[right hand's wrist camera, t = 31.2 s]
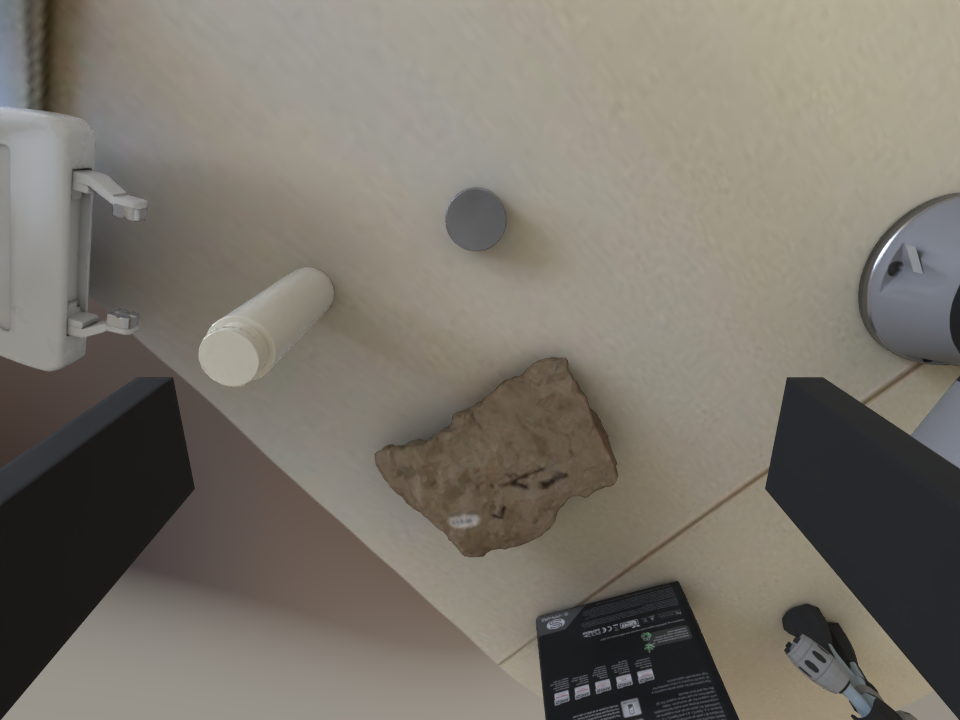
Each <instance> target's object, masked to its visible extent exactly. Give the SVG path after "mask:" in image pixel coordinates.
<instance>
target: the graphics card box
mask: <svg viewBox="0 0 960 720" xmlns="http://www.w3.org/2000/svg"><path fill="white" fill-rule="evenodd" d="M536 629H537V639H538V649H539V659H540V669H541V679H542V689H543V699H544V708H545V718H546V720H739V718H738V716H737V713H736V711H735V709H734V707H733V704H732V702H731V700H730V698H729V695H728V693H727V691H726V689H725V686H724V684H723V681H722V679H721V677H720V675H719V672H718V670H717V668H716V666H715V663H714V661H713V658H712V656H711V653H710V651H709V649H708V646H707V644H706V642H705V639H704V637H703V634H702V632H701V630H700V628H699V625H698V623H697V620H696V618H695V616H694V614H693V612H692V610H691V607H690V605H689V603H688V601H687V598H686V596H685V594H684V592H683V589H682V587H681V585H680V584H679V582H678V581H675V582H671V583H668V584H664V585H660V586H657V587H652V588H648V589H645V590H641V591H637V592H633V593H629V594H626V595H621V596H618V597H614V598H610V599H606V600H602V601H598V602H594V603H590V604H587V605H582V606H579V607H575V608H571V609H567V610H564V611H559V612H556V613H552V614H548V615H543V616H540V617H538V618H537V619H536Z"/></svg>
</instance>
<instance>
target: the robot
mask: <svg viewBox="0 0 960 720" xmlns="http://www.w3.org/2000/svg"><path fill="white" fill-rule="evenodd" d="M782 621H783V628H784V630H785V631H787V632H788V633H789V634H791V635H793V636H796V637H795V639H794V640H793V641H794V642H793V643H792V644H791V643H790V642H788V643H787V644H786V647H787V648H785V650H784V651H785V652H786V654H787V656H788V657H789V658H790V660H791V661H792V663H793V664H794V665H795V666H796V667H797V668H799V669H800V670H801V671H802V672H803V673H804V674H805V675H806V676H807V677H808V678H810V679H811V680H812V681H814V682H815V683H816V684H818V685H819V686H821V687H823V689H826V690H828V691H830V692H833V693H835V694H837V693H840V694H841V693H842V694H843V695H845V696H846V697H847V698H848V699H849V702H850V703H851V705H852V707H853V708H854V710H855V711H856V712H857V713H859V715H860V716H861V718H857V717H856V716H854V715H851V717H852V718H853V719H854V720H917V719H916V718H915V717H914V716H912V715H911V714H910V713H907V712H904V711H894V710H893V709H892V708H891V707H889V706H888V705H887V704H886V703H884V701H883V700H882V698H881V697H880V695H879V693H878V691H877V690H876V689H875V687H874V686H873V685H872V684H871V683H869V682H868V681H867V679H866V677H865V676H864V674H863V673H862V671H861V669H860V668H859V666H858V663H857V658H856V655H855V652H854V650H853V647H852V645H851V643H850V641H849V640H848V638H847V636H846V634H845V633H844V632H843V630H842V628H841V627H840V625H839V624H838V623H827V621H826V619H825V617H823V615H822V613H821V612H820V610H819V608H818V607H815V606H812V605H809V604H806V605H802V606H799V607H796V608H793V609H791V610H790V611H788V612H787V613H786V614H785V616H784V617H783V619H782Z"/></svg>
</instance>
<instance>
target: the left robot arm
mask: <svg viewBox="0 0 960 720" xmlns="http://www.w3.org/2000/svg"><path fill="white" fill-rule="evenodd" d="M95 146H96V134H95V132H94V131H93V130H92V128H91V127H90V126H89V125H88V124H87V123H86V122H85V121H84V120H83V119H81V118H78V117H74V116H70V115H65V114H60V113H55V112H48V111H41V110H32V109H23V108H13V107H0V356H2V357H5V358H7V359H10V360H13V361H15V362H18V363H21V364H24V365H27V366H30V367H33V368H37V369H40V370H44V371H56V370H59V369H62V368H64V367H66V366H68V365H70V364H72V363H74V362H75V361H77V360H78V359H80V358H82V357H83V356H84V355H85V353H86V338H87V337H88V336H92V335H95V334H99V333H103V332H106V331H110V332H114V333H118V334H122V335H131V334H133V333H134V332H136V331H138V319H139V314H138V313H136V312H131V313H130V312H129V311H128V310H124V309H120V308H119V309H117V310H115V311H114V312H110V313H108V314H107V318H106V320H105V321H100V322H97V321H98V318H99V317H98V315H95V314H92V313H88V295H89V274H90V253H91V231H92V210H93V193H96V192H97V193H98V194H100V195H101V196H102V197H103V198H105V199H106V200H107V201H108V202H109V203H111V204H112V205H113V216H116V217H120V218H124V217H125V218H126V219H127V220H131V221H141V220H146V216H147V207H148V201H147V200H144V199H141V198H137V197H133V196H130V195H127V193H126V192H125V191H124V190H123V189H122V188H121V187H120V186H119V185H118V184H116V183H115V182H114V181H113V180H112V179H111V178H110V177H109V176H108V175H107V174H104V173H100V172H96V171H94V166H95Z"/></svg>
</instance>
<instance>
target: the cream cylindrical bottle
mask: <svg viewBox="0 0 960 720" xmlns="http://www.w3.org/2000/svg"><path fill="white" fill-rule="evenodd" d="M333 299H334V289H333V285H332V283H331V281H330V280H329V278H328V277H327V276H326V275H325V274H324V273H323V272H321V271H319V270H317V269H315V268H311V267H302V268H299V269H296V270H294V271H293V272H291V273H290V274H288V275H287V276H285V277H284V278H282V279H280V280H279V281H277V282H276V283H274V284H273V285H271V286H270V287H268V288H267V289H265V290H264V291H262V292H261V293H259V294H258V295H256V296H254V297H253V298H251V299H250V300H248V301H247V302H245V303H244V304H242V305H241V306H239V307H238V308H236V309H235V310H233V311H232V312H230V313H228V314H227V315H225V316H224V317H222V318H221V319H219V320H218V321H216V322H215V323H214V324H213V325H212V326H211V327H210V329H209V331H208V333H207V335H206V336H205V337H204V338H203V340H202V343H201V345H200V348H199V361H200V364H201V366H202V368H203V370H204V371H205V373H206V374H207V375H208V376H209V377H210V378H211V379H213V380H214V381H215V382H217V383H220V384H222V385H224V386H229V387H242V386H245V385H247V384H246V383H248V382H249V381H253V380H257V379H259V378H261V377H263V376H264V375H266V374H267V373H268V372H269V371H270V370H271V369H272V368H273V367H274V366H275V364H276V363H277V362H278V361H279V360H280V359H281V358H282V357H283V356H284V355H285V354H286V353H287V352H288V351H289V350H290V349H291V348H292V347H293V345H294V344H295V343H296V342H297V341H298V340H299V339H300V338H301V337H302V336H303V335H304V334H305V333H306V332H307V331H308V330H309V329H310V328H311V327H312V325H313V324H314V323H315V322H316V321H317V320H318V319H319V318H320V317H321V316H322V315H323V314H324V313H325V312H326V311H327V310H328V309H329V307H330V306H331V304H332V302H333Z"/></svg>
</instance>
